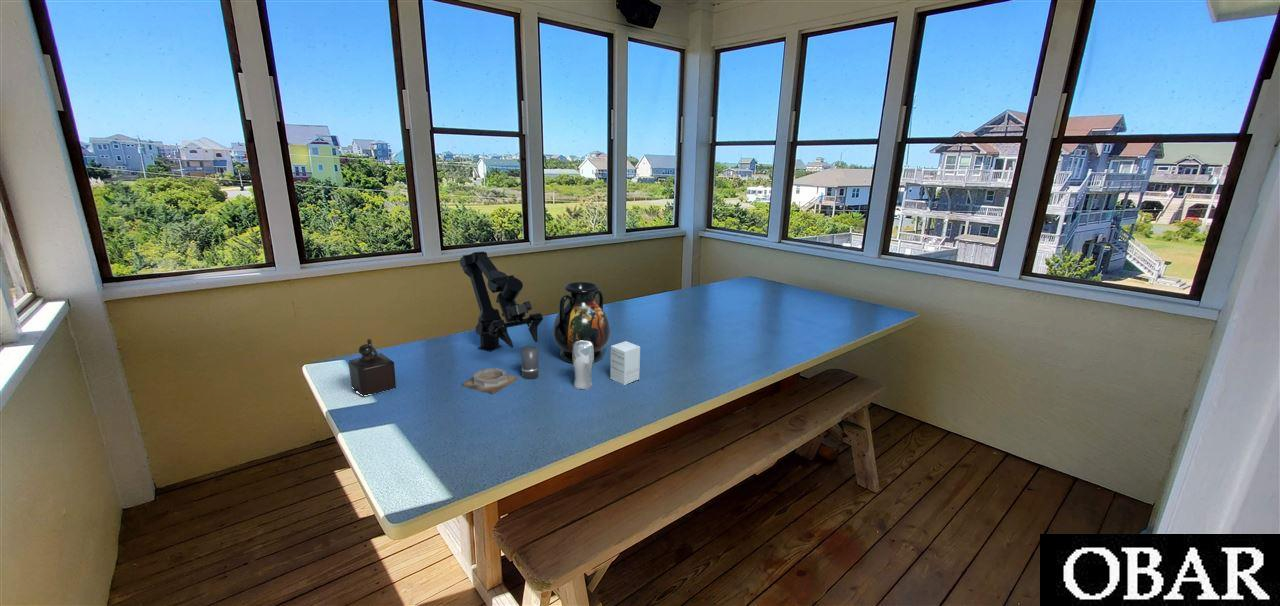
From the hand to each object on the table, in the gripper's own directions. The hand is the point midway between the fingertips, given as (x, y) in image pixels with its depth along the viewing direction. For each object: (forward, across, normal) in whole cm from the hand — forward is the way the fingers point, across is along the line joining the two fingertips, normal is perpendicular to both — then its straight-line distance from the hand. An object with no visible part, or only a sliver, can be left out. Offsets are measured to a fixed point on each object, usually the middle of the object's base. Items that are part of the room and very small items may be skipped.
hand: (524, 344), depth 177 cm
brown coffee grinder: (-3, -45, +18) cm, 48 cm away
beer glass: (+22, +10, -7) cm, 25 cm away
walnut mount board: (+8, -13, +7) cm, 17 cm away
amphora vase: (+7, +24, +9) cm, 27 cm away
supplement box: (+25, +24, -10) cm, 37 cm away
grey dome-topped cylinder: (+10, 0, +5) cm, 11 cm away
